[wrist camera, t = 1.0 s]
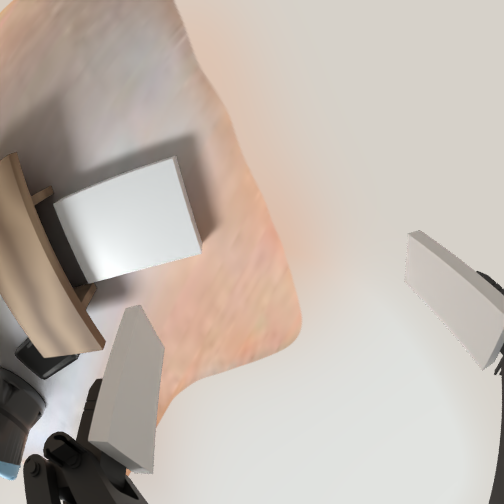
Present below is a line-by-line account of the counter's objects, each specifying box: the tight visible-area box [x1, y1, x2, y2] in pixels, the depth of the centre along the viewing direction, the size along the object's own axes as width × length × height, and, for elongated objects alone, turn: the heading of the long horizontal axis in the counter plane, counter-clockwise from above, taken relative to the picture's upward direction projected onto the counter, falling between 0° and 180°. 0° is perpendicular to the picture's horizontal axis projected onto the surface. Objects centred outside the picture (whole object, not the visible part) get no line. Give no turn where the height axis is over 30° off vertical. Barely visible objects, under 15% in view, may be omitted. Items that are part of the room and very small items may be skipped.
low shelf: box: [0, 152, 106, 358], centre depth 26 cm, size 11×24×6 cm, turn 13°
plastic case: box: [53, 155, 202, 284], centre depth 28 cm, size 14×10×3 cm
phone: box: [15, 338, 79, 380], centre depth 35 cm, size 8×1×15 cm
